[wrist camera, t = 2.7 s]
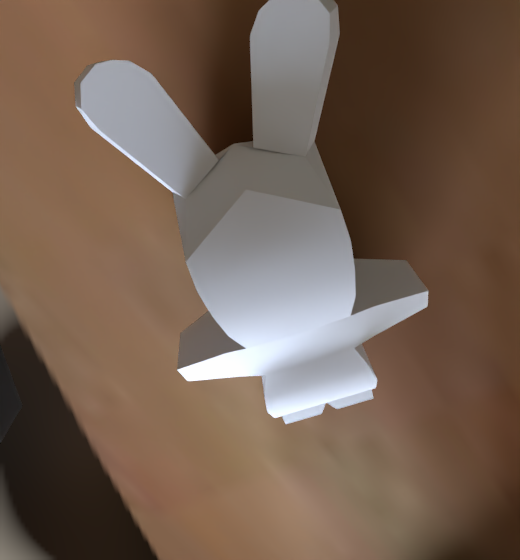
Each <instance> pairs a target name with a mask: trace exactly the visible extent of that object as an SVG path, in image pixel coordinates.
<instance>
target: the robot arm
mask: <svg viewBox="0 0 520 560" xmlns="http://www.w3.org/2000/svg"><path fill="white" fill-rule="evenodd" d="M21 407H22V403H21V401H20V397H19V395H18V392H17V389H16V387H15V384H14V381H13V378H12V376H11V373H10V370H9V367H8V365H7V362H6V359H5V357H4V354H3V351H2V348H1V346H0V443H1V441H2V440H3V438H4V436H5V435H6V433H7V431H8V430H9V428H10V426H11V424H12V423H13V421H14V419H15V418H16V416H17V414H18V413H19V411H20V409H21Z"/></svg>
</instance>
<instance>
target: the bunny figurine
mask: <svg viewBox="0 0 520 560" xmlns="http://www.w3.org/2000/svg"><path fill="white" fill-rule="evenodd" d="M339 35H340V30H339V15H338V5H337V4H336V3H335V1H334V0H269V1H268V2H267V3H266V4H265V5H264V6H263V7H262V8H261V9H260V10H259V11H258V14H257V17H256V20H255V23H254V26H253V28H252V31H251V34H250V55H251V86H252V118H253V141H249V142H243V143H236V144H232V145H231V146H229V147H227V148H226V149H224V150H222V151H221V152H219V153H218V154H216V155H215V154H214V153H213V152H212V151H211V149H210V148H209V147H208V145H207V144H206V143H205V142H204V140H203V139H202V138H201V136H200V135H199V134H198V133H197V131H196V130H195V129H194V127H193V126H192V125H191V124H190V122H189V121H188V120H187V119H186V117H185V116H184V115H183V113H182V112H181V111H180V110H179V108H178V107H177V106H176V104H175V103H174V102H173V101H172V99H171V98H170V97H169V95H168V94H167V93H166V92H165V90H164V89H163V88H162V86H161V85H160V84H159V83H158V81H157V80H156V79H155V78H154V76H153V75H152V74H151V73H150V72H148V71H146V70H144V69H143V68H141V67H139V66H137V65H136V64H134V63H132V62H130V61H121V60H108V61H102V62H98V63H94V64H91V65H87V66H86V68H85V69H84V70H83V72H82V73H81V74H80V76H79V77H78V78H77V80H76V81H75V82H74V86H75V103H76V107H77V109H78V110H79V112H80V113H81V114H82V116H83V117H84V119H85V120H86V122H87V123H88V124H89V126H90V127H91V128H92V129H93V130H94V131H96V132H97V133H98V134H99V135H101V136H102V137H103V138H105V139H106V140H107V141H108V142H110V143H111V144H112V145H113V146H115V147H116V148H117V149H118V150H120V151H121V152H122V153H124V154H125V155H126V156H127V157H129V158H130V159H131V160H132V161H134V162H135V163H136V164H138V165H139V166H140V167H141V168H143V169H144V170H145V171H146V172H148V173H149V174H150V175H151V176H153V177H154V178H155V179H157V180H158V181H159V182H160V183H162V184H163V185H164V186H165V187H167V188H168V189H169V190H171V191H172V193H173V198H174V203H175V208H176V214H177V219H178V224H179V229H180V234H181V240H182V245H183V250H184V255H185V261H186V264H187V266H188V269H189V272H190V274H191V277H192V279H193V282H194V285H195V287H196V290H197V292H198V294H199V295H200V297H201V299H202V300H203V302H204V304H205V305H206V307H207V308H208V310H209V311H208V312H207V313H205V314H204V315H203V316H201V317H200V318H199V319H198V320H196V321H195V322H194V323H193V324H191V325H190V326H189V327H188V328H186V329H185V330H184V331H182V332H181V333H180V344H179V355H178V367H177V370H178V371H179V372H180V373H181V374H182V375H183V377H184V378H185V379H186V380H187V381H195V380H207V379H218V378H229V377H240V376H262V382H263V389H264V397H265V403H266V407H267V412H268V413H269V414H270V415H272V416H273V417H275V418H277V417H280V416H282V418H283V420H284V422H285V423H286V424H288V423H292V422H295V421H299V420H302V419H305V418H309V417H312V416H316V415H319V414H322V411H323V409H324V406H325V403H328V404H329V405H331V406H333V407H334V408H336V409H339V408H343V407H346V406H349V405H353V404H356V403H360V402H363V401H366V400H370V399H373V394H372V390H371V389H374V388H376V384H377V378H376V376H375V373H374V371H373V369H372V366H371V364H370V362H369V359H368V357H367V355H366V352H365V350H364V348H363V345H362V343H363V342H365V341H367V340H368V339H370V338H371V337H373V336H375V335H376V334H378V333H380V332H382V331H384V330H386V329H387V328H389V327H391V326H393V325H395V324H397V323H398V322H400V321H402V320H404V319H406V318H407V317H409V316H411V315H413V314H415V313H417V312H418V311H420V310H422V309H424V308H426V307H428V289H427V288H426V287H425V285H424V284H423V283H422V281H421V280H420V278H419V277H418V276H417V274H416V273H415V272H414V270H413V269H412V267H411V266H410V265H409V263H408V262H407V261H406V260H384V259H353V252H352V244H351V239H350V236H349V233H348V230H347V227H346V224H345V221H344V218H343V215H342V212H341V209H340V207H339V204H338V201H337V199H336V196H335V194H334V191H333V188H332V186H331V183H330V181H329V178H328V175H327V173H326V170H325V168H324V165H323V162H322V160H321V157H320V155H319V152H318V149H317V147H316V144H315V142H314V141H315V137H316V133H317V128H318V124H319V120H320V116H321V111H322V107H323V103H324V99H325V94H326V90H327V86H328V82H329V77H330V73H331V69H332V65H333V60H334V56H335V52H336V48H337V43H338V39H339Z"/></svg>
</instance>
